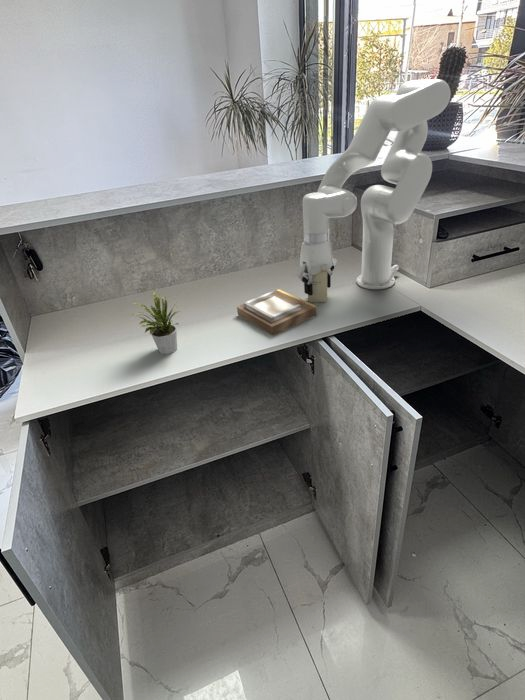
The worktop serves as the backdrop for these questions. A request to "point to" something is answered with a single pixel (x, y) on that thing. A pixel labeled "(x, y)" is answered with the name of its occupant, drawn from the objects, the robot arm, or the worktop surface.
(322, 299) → the skincare box
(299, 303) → the dock
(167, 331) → the house plant
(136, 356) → the worktop surface
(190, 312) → the worktop surface
